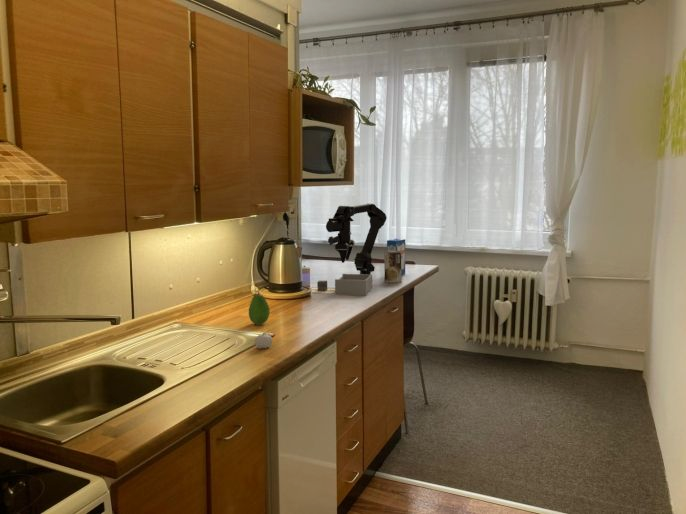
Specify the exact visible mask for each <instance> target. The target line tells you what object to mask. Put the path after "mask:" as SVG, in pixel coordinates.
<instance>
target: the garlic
mask: <svg viewBox="0 0 686 514" xmlns="http://www.w3.org/2000/svg"><path fill="white" fill-rule="evenodd" d="M254 344H255V346H256V348H258V349H260V350H263V349H262V348H265V349H268V348H269V347H270V346H271V345H272V344H273V337H272V336H271V335H270V334H267V331H264V332H263V333H261V334H259V335H258V336H256V337H255V338H254ZM267 347H268V348H267Z"/></svg>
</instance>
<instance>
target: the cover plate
mask: <svg viewBox="0 0 686 514" xmlns="http://www.w3.org/2000/svg"><path fill="white" fill-rule="evenodd" d="M316 283H317V286H314V287H311V288H312V293H311V294H322V295H324V294H326V295H334V294H335V287H328V280H318V281H316ZM314 290H315V291H314Z"/></svg>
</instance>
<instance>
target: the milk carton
mask: <svg viewBox="0 0 686 514" xmlns="http://www.w3.org/2000/svg"><path fill="white" fill-rule="evenodd" d="M386 251H401V271H402V276H404V275H406V239H405V238H392V239H388V240H386ZM403 274H404V275H403Z"/></svg>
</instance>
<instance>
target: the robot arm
mask: <svg viewBox="0 0 686 514" xmlns="http://www.w3.org/2000/svg"><path fill="white" fill-rule="evenodd" d="M362 213H367V216H368V218H369V226H370V227H369V229H368V233H367V235H366V238H365V242H364V244H363V247H362V248H361V249H362V250H361V251H360V252H356V254H355V258H354V259H353V260H354V261H353V262H354V266H355V269H356V271H359V274H368V275H372V273H373V272H374V271H375V266H374V265H373V264H372V252H373V248H374V245H375V243H376V240H377V237H378V234H379V231H380V229H381V228H382V227H383V226H384V225H385V223H386V221H387V218H388V217H387V215H386V213H385V212H384V211H383V210H382V209H380V208H379V207H377V206H376V204H374V203H365V204H358V205H339V206H338V207H337V210H336V211H335V213H334V215H333V217H332V218H331V217H330V218H328V221H327V222H326V224H325V229H326V231H327V232H328V233H335V232H336V233H337V232H338V233H337V236H333V235H331V236H329V237H328V239H327V243H328V244H329V246H332V245H334V249H335V251H336V252H338V253H339V256H340V260H341V264H342V263H344V264H345V261H349V259H350V257H351V254H352V251H353V249H354V246H355V242H356V241H354V239H351V235H352V231H351V222H354V219H353V218H352V217H354V216H355V215H356V214H362Z"/></svg>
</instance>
